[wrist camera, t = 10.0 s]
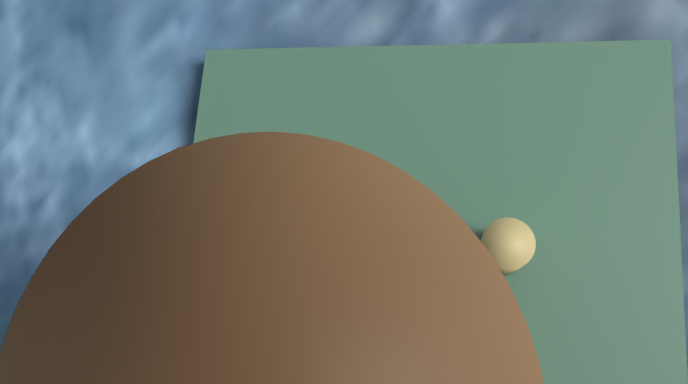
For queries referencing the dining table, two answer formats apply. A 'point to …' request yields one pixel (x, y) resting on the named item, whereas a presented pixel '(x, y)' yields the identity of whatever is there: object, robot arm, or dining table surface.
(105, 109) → the dining table surface
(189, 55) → the dining table surface
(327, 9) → the dining table surface
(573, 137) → the standoff plate
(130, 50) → the dining table surface
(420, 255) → the walnut cylinder
